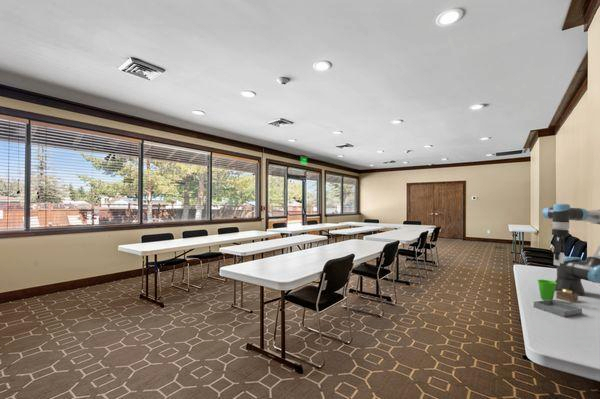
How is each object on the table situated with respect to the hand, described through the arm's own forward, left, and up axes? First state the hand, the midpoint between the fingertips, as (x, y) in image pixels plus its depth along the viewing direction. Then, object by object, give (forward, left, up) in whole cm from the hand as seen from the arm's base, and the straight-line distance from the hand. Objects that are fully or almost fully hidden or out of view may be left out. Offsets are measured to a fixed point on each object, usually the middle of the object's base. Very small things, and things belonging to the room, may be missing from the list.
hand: (558, 264), depth 170 cm
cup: (+7, -2, -22) cm, 23 cm away
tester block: (-6, +1, -22) cm, 22 cm away
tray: (+22, +12, -22) cm, 33 cm away
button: (-6, +1, -19) cm, 20 cm away
